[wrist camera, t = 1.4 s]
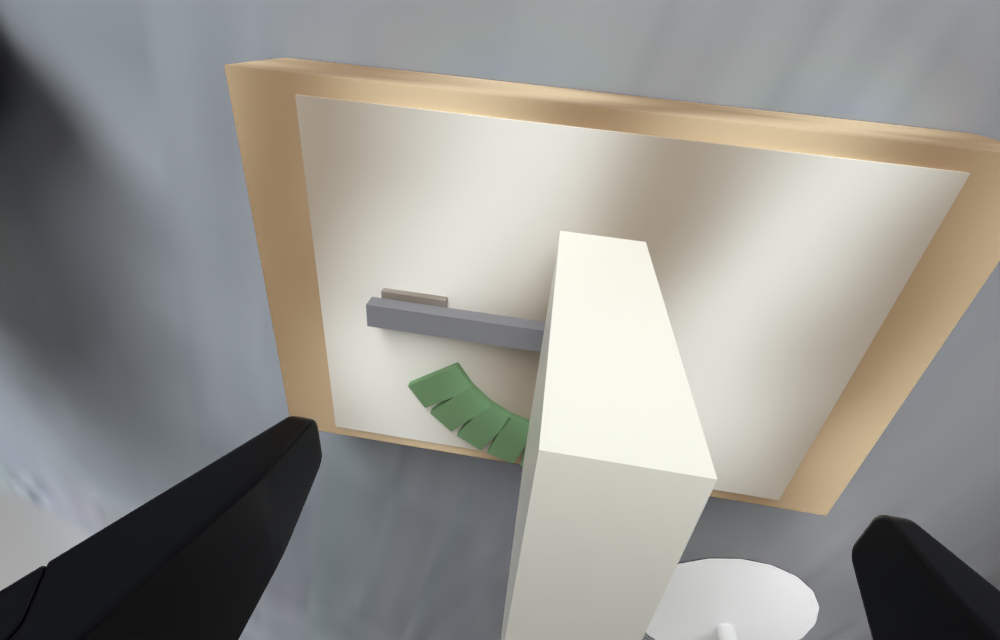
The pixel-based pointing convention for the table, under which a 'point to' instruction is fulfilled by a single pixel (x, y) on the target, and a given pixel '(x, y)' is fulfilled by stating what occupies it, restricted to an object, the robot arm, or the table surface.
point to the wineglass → (733, 603)
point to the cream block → (592, 443)
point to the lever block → (618, 214)
